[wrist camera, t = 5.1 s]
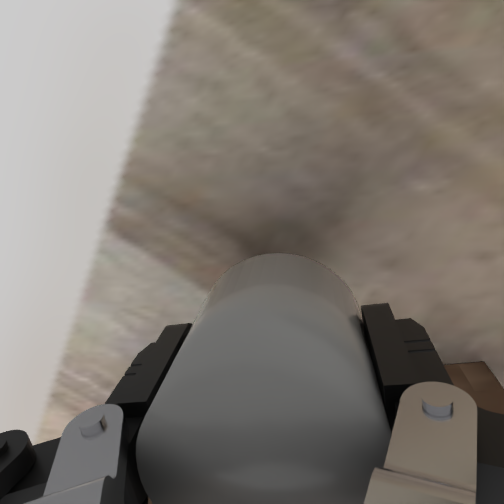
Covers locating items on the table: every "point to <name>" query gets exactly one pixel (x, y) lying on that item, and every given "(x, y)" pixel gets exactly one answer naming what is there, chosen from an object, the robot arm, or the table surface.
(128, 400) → the robot arm
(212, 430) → the smooth gray cylinder
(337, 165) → the table surface
